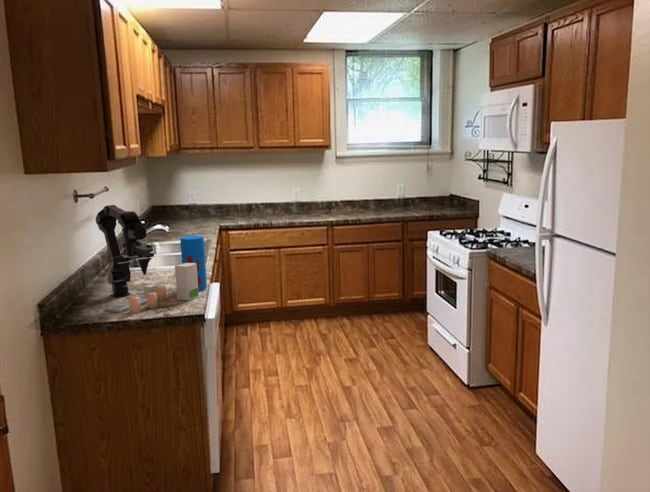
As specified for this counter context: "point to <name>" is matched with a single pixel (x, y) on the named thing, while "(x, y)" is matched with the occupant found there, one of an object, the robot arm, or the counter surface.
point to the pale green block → (149, 289)
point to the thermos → (195, 257)
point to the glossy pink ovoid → (161, 293)
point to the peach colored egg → (134, 305)
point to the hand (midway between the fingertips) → (137, 276)
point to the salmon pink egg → (151, 300)
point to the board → (124, 306)
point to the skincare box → (186, 281)
